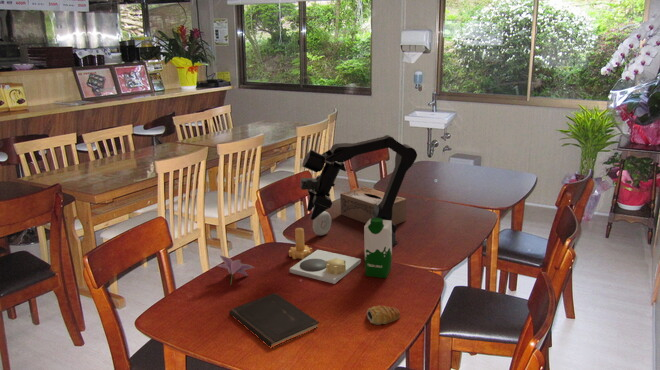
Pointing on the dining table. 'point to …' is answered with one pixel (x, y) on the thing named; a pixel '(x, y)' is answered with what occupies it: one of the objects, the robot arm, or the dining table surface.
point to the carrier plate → (325, 266)
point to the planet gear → (299, 246)
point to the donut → (325, 226)
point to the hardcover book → (273, 319)
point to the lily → (234, 266)
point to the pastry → (382, 314)
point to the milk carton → (378, 247)
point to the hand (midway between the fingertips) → (309, 215)
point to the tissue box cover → (369, 205)
